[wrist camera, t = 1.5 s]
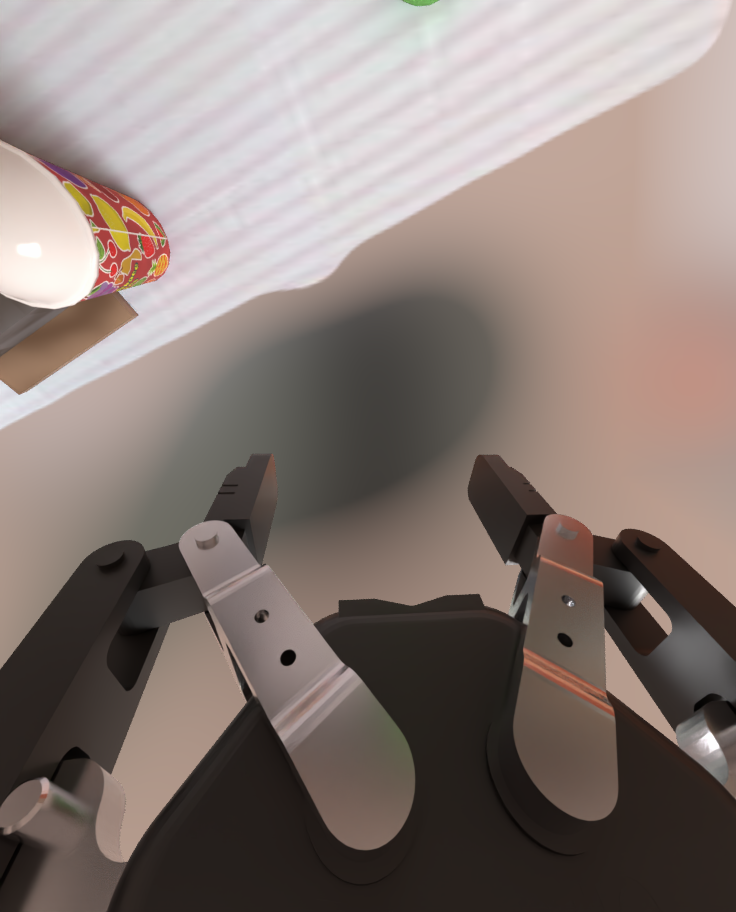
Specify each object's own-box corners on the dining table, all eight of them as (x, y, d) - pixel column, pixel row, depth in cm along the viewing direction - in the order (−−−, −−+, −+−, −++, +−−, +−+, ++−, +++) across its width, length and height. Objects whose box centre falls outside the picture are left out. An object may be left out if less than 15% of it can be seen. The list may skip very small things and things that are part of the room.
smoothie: (123, 299, 32) (-106, 343, 16) (64, 197, 28) (-347, 104, 11) (200, 279, 32) (52, 303, 15) (154, 173, 28) (-129, 41, 11)
